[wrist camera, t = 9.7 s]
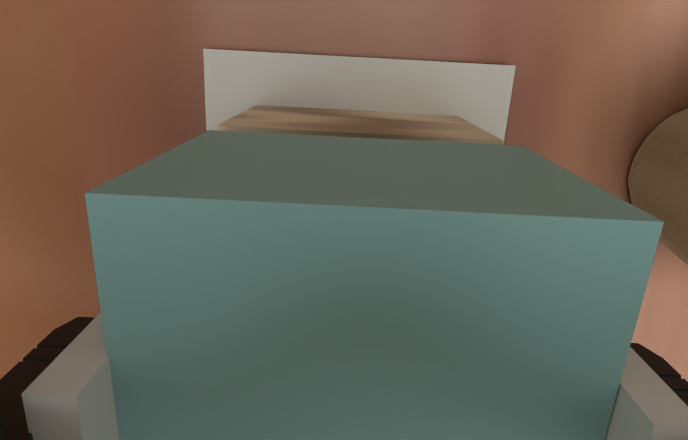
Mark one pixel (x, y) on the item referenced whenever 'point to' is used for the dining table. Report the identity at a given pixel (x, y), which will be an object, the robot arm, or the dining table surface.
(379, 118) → the beech block
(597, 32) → the dining table surface
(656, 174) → the flower pot
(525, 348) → the teal block
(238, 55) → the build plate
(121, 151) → the dining table surface
